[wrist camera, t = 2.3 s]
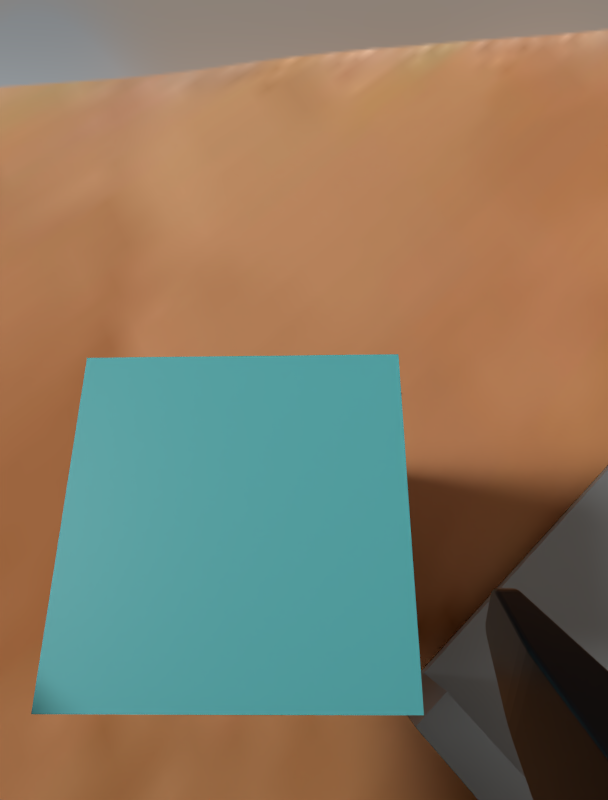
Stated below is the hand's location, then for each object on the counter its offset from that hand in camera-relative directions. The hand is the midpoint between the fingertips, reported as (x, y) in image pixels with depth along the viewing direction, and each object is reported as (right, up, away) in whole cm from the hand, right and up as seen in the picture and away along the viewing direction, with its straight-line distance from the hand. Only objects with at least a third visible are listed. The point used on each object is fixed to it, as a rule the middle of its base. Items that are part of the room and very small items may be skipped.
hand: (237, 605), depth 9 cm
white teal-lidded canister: (0, -2, +9) cm, 9 cm away
